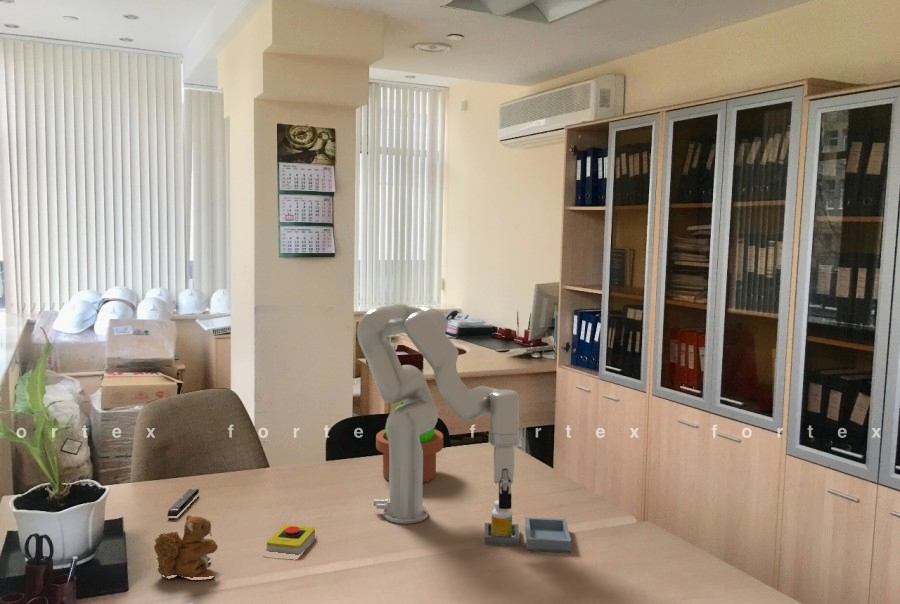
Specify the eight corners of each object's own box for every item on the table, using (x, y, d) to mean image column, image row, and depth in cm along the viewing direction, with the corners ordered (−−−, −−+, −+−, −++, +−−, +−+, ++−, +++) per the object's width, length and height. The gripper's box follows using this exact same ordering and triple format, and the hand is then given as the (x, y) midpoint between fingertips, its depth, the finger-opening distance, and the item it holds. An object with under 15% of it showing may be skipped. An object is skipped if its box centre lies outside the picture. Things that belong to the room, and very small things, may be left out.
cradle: (483, 544, 185) (484, 536, 185) (484, 529, 194) (484, 522, 194) (518, 545, 184) (519, 538, 184) (517, 531, 193) (518, 524, 193)
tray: (527, 550, 182) (527, 539, 181) (525, 527, 196) (525, 517, 195) (570, 552, 181) (571, 541, 181) (565, 529, 195) (565, 519, 195)
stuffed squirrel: (217, 579, 164) (216, 524, 163) (151, 587, 160) (149, 530, 159) (218, 560, 174) (217, 508, 172) (155, 567, 170) (154, 513, 168)
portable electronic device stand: (176, 521, 197) (176, 510, 197) (167, 521, 197) (167, 510, 197) (199, 497, 215) (199, 487, 215) (191, 496, 215) (190, 487, 215)
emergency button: (318, 520, 189) (296, 545, 174) (318, 536, 189) (296, 562, 174) (285, 517, 190) (260, 541, 175) (285, 533, 191) (261, 558, 176)
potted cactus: (441, 488, 225) (443, 410, 222) (372, 486, 225) (372, 408, 222) (443, 465, 247) (444, 394, 244) (379, 464, 247) (380, 392, 244)
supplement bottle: (510, 543, 186) (511, 507, 185) (489, 541, 187) (490, 505, 186) (512, 534, 191) (513, 499, 190) (492, 532, 192) (493, 497, 191)
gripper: (490, 428, 195) (490, 490, 197) (489, 447, 178) (490, 514, 179) (518, 429, 195) (518, 490, 196) (520, 447, 177) (520, 514, 179)
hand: (504, 501), depth 188 cm, fingers open, 9 cm apart
